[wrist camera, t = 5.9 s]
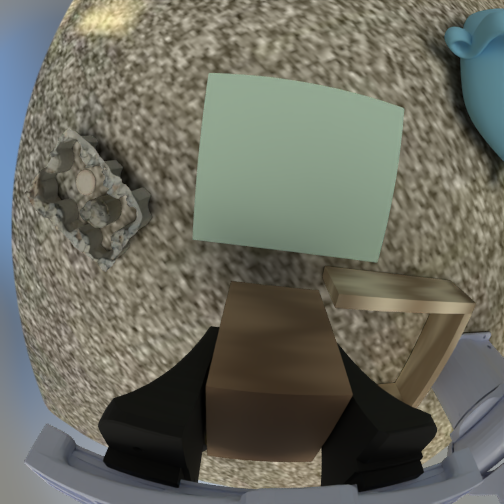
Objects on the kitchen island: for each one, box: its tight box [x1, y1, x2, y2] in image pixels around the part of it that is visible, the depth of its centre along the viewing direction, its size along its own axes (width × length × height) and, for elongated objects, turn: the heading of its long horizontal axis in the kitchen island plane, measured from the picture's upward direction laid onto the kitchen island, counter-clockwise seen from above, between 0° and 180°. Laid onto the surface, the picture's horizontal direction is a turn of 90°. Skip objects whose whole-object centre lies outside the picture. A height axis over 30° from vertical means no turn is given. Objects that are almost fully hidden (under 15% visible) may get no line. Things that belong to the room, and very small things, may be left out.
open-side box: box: [322, 266, 476, 408], centre depth 21 cm, size 13×14×4 cm
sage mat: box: [193, 73, 404, 262], centre depth 18 cm, size 14×12×1 cm
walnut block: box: [206, 281, 353, 462], centre depth 11 cm, size 4×5×7 cm
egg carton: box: [25, 129, 152, 272], centre depth 18 cm, size 10×7×4 cm
